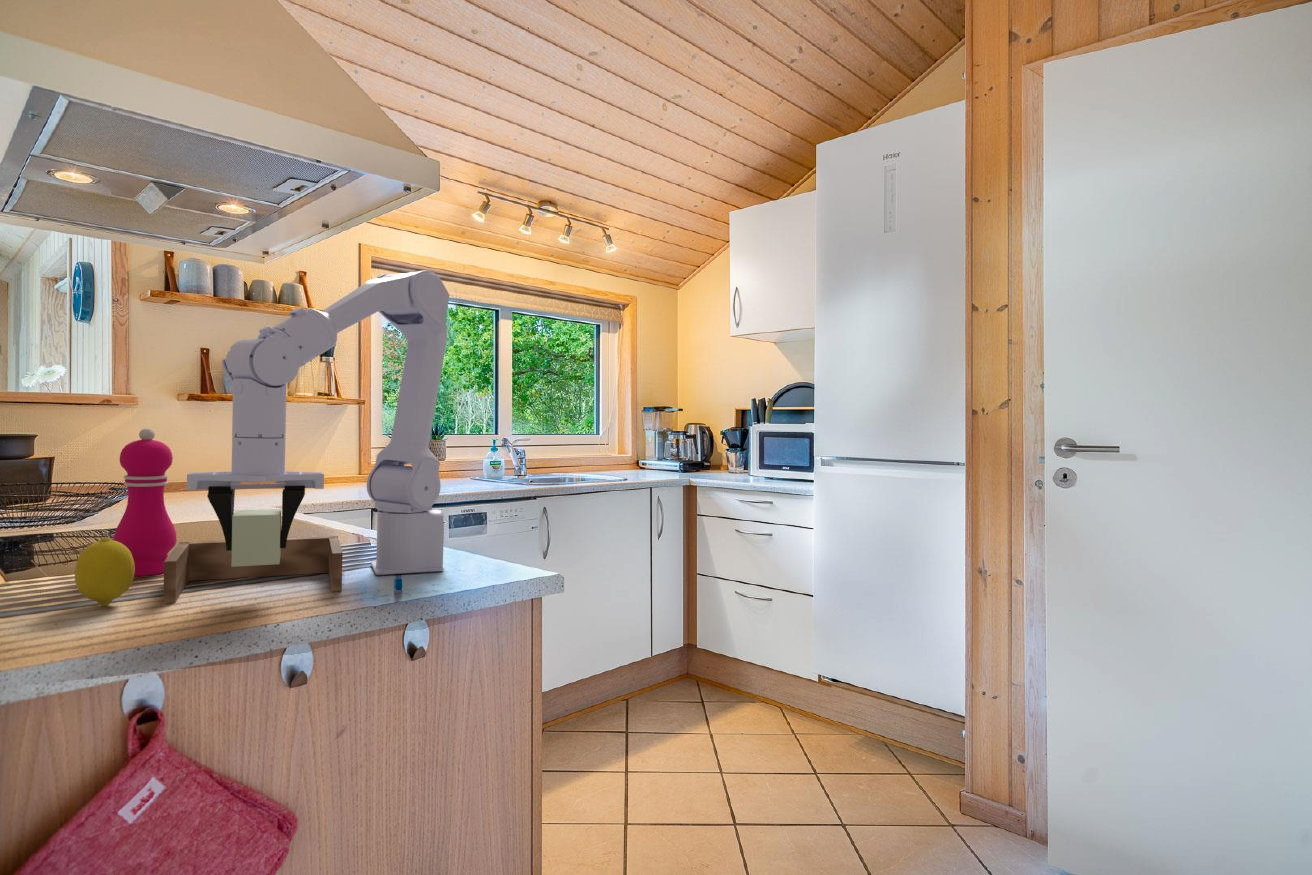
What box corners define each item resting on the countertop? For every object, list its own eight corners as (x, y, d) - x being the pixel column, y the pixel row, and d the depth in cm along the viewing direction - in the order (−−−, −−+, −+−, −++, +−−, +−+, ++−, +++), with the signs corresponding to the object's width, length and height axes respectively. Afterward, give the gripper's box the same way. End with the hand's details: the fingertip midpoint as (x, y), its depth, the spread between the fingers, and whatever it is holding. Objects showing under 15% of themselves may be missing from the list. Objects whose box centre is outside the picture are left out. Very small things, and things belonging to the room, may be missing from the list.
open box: (337, 570, 105) (337, 536, 105) (341, 590, 94) (342, 552, 93) (179, 579, 96) (179, 542, 96) (163, 603, 85) (164, 561, 85)
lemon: (82, 615, 79) (83, 543, 79) (67, 605, 83) (68, 536, 82) (141, 605, 84) (142, 537, 83) (125, 596, 87) (126, 531, 87)
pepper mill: (160, 563, 105) (162, 427, 104) (186, 570, 101) (188, 429, 100) (102, 572, 98) (104, 427, 98) (128, 580, 95) (130, 429, 94)
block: (280, 556, 91) (281, 509, 91) (279, 564, 87) (280, 514, 86) (234, 558, 89) (235, 510, 89) (231, 566, 84) (232, 516, 84)
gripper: (183, 437, 80) (181, 557, 81) (325, 439, 87) (323, 551, 87) (192, 434, 87) (190, 546, 87) (324, 437, 93) (321, 540, 94)
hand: (257, 547), depth 88 cm, fingers closed on block, 5 cm apart
